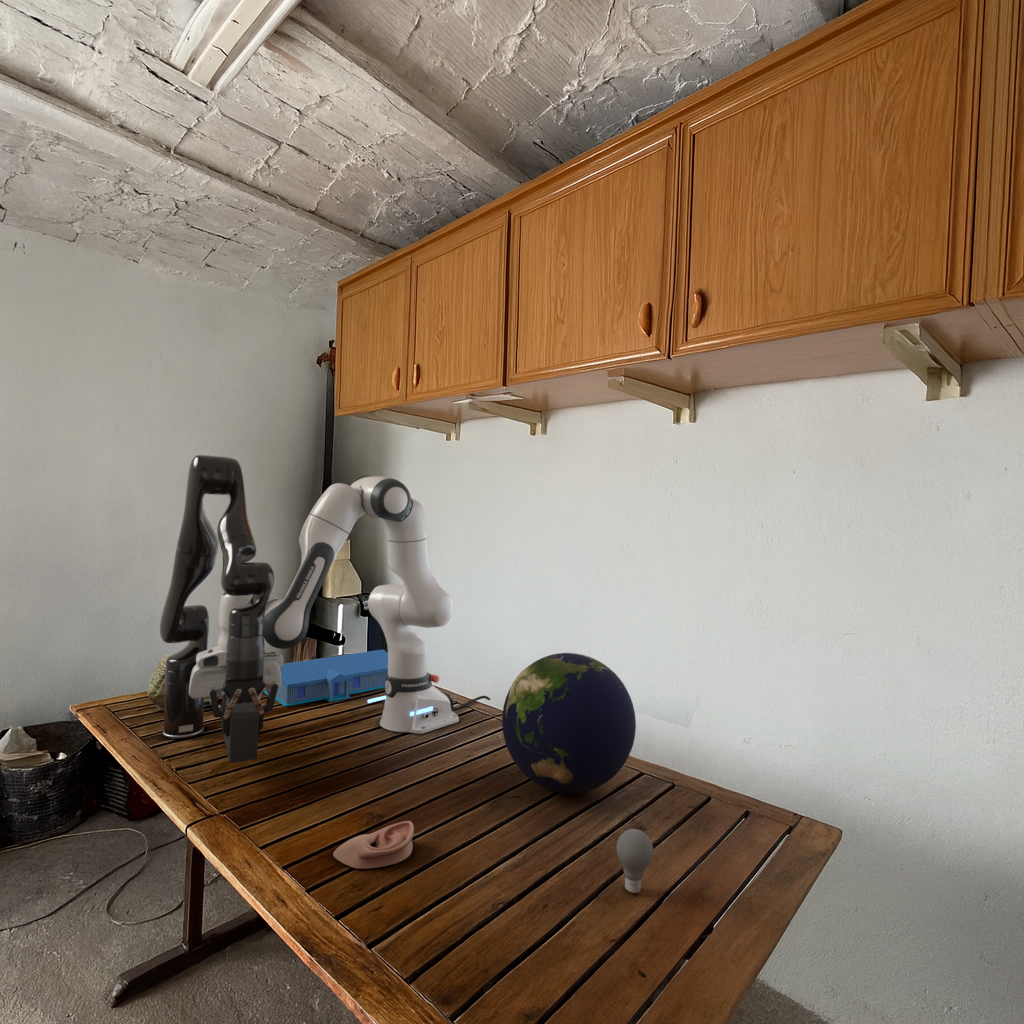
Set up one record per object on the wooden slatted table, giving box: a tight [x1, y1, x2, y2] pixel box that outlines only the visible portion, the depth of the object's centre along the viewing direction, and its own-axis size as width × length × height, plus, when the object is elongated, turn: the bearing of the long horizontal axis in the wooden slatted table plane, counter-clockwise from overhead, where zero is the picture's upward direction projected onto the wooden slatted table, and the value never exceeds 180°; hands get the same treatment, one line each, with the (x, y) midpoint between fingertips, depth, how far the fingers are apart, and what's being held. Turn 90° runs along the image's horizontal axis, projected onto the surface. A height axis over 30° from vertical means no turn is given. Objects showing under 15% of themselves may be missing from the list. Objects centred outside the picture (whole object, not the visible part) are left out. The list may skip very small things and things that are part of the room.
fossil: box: [147, 654, 220, 712], centre depth 185 cm, size 9×18×15 cm, turn 132°
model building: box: [263, 649, 388, 707], centre depth 208 cm, size 39×24×10 cm, turn 132°
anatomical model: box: [332, 820, 415, 870], centre depth 114 cm, size 13×4×12 cm
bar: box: [221, 694, 259, 764], centre depth 144 cm, size 23×5×9 cm, turn 29°
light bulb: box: [615, 828, 654, 894], centre depth 106 cm, size 6×6×10 cm
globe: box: [501, 652, 637, 794], centre depth 143 cm, size 30×30×30 cm
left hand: (242, 732), depth 136 cm, fingers closed on bar, 5 cm apart
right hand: (235, 712), depth 151 cm, fingers open, 6 cm apart
